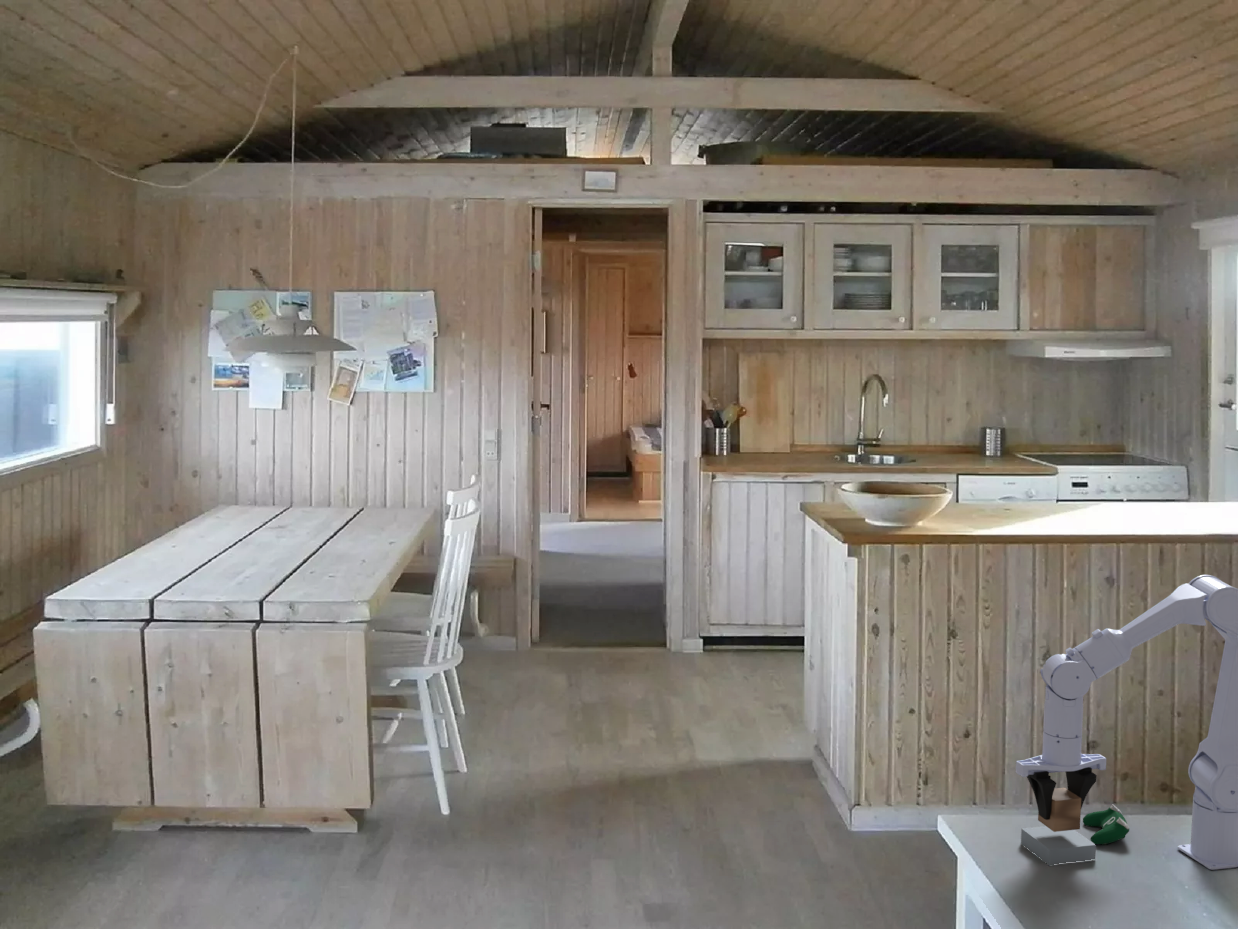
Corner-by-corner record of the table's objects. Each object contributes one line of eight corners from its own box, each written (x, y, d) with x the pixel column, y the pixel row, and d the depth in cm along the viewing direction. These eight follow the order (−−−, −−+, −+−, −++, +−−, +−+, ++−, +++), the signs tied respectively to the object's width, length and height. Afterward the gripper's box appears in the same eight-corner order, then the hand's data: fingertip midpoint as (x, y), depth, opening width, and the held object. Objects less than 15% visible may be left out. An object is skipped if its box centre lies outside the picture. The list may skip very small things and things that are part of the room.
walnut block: (1063, 817, 192) (1064, 787, 191) (1079, 829, 188) (1081, 798, 187) (1037, 820, 191) (1039, 789, 190) (1053, 831, 187) (1055, 800, 186)
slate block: (1065, 841, 195) (1066, 824, 194) (1095, 863, 187) (1095, 844, 187) (1020, 846, 193) (1021, 828, 193) (1048, 868, 185) (1049, 849, 185)
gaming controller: (1106, 858, 192) (1136, 835, 191) (1089, 840, 192) (1119, 817, 191) (1095, 834, 201) (1124, 812, 200) (1079, 817, 201) (1107, 795, 200)
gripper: (1089, 720, 193) (1085, 801, 195) (1006, 727, 190) (1003, 809, 192) (1115, 735, 186) (1111, 819, 188) (1031, 742, 183) (1027, 827, 185)
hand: (1058, 815), depth 189 cm, fingers closed on walnut block, 4 cm apart
